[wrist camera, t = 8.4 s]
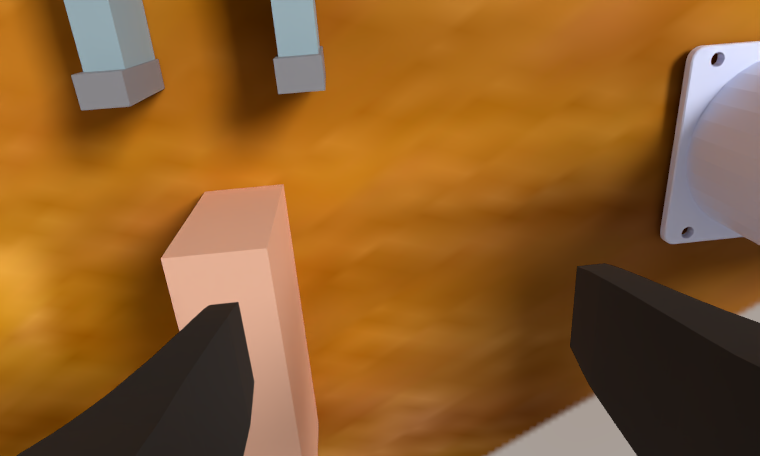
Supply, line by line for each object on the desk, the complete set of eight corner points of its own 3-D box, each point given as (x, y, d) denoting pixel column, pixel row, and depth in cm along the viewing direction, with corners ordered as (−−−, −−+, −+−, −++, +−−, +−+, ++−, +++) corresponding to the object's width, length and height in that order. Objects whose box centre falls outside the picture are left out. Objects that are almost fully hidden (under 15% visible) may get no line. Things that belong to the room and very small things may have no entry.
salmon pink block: (283, 183, 21) (266, 248, 15) (318, 421, 26) (315, 536, 20) (205, 190, 21) (160, 258, 15) (255, 429, 25) (234, 546, 20)
